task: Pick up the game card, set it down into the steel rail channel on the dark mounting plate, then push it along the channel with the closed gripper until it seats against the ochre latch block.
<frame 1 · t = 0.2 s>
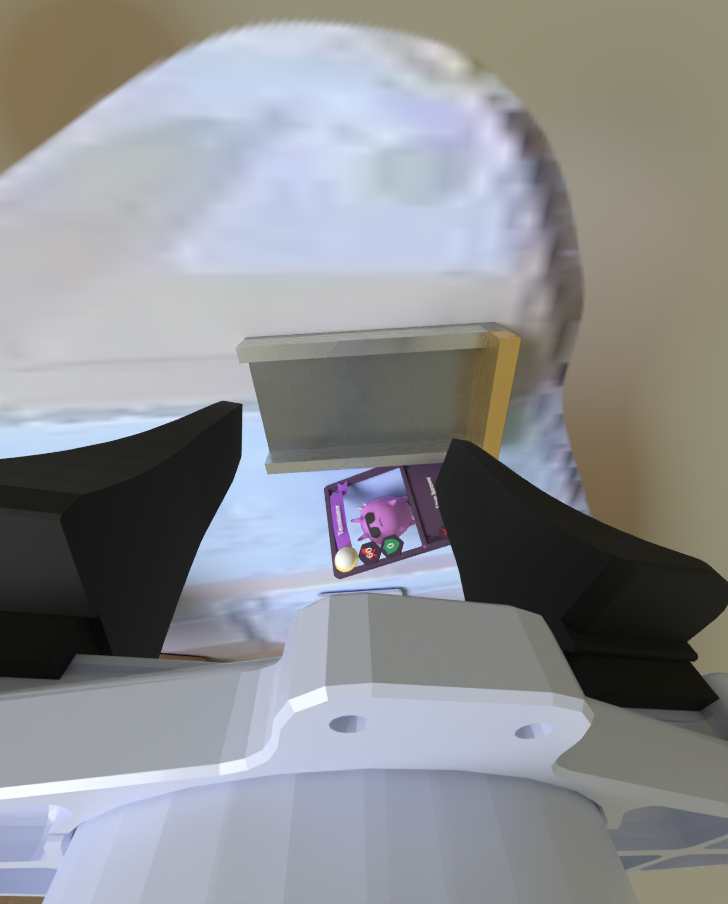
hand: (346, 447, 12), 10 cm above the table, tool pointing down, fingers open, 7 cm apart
wooden block: (162, 673, 39), on the table
rail seat: (373, 396, 21), on the table
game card: (391, 486, 26), on the table
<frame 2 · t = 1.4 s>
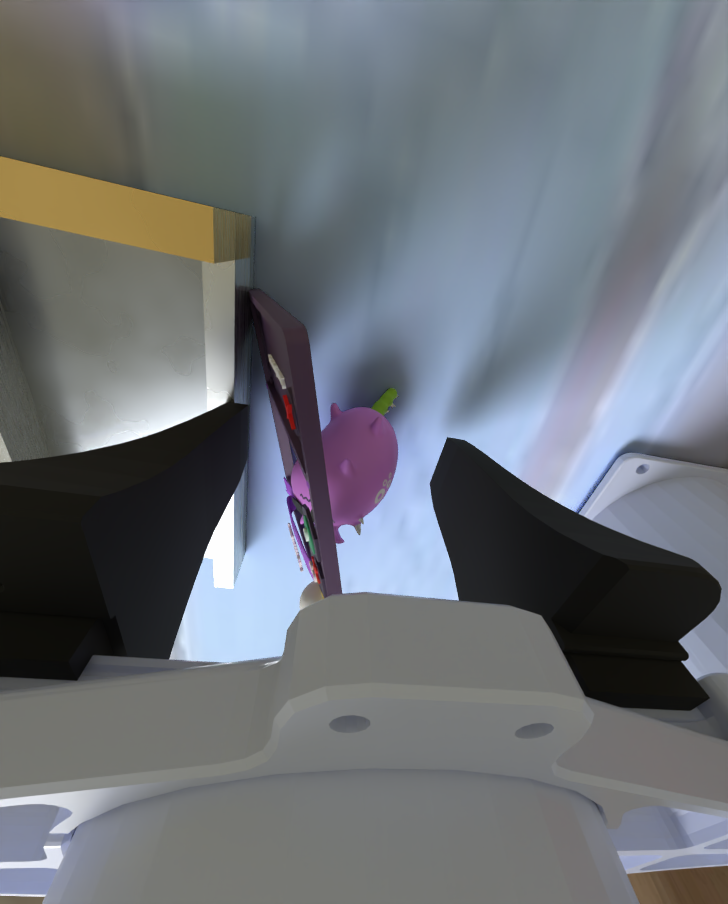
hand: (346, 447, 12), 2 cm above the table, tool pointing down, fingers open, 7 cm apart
wooden block: (568, 728, 30), on the table
rail seat: (139, 413, 13), on the table
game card: (335, 411, 13), on the table
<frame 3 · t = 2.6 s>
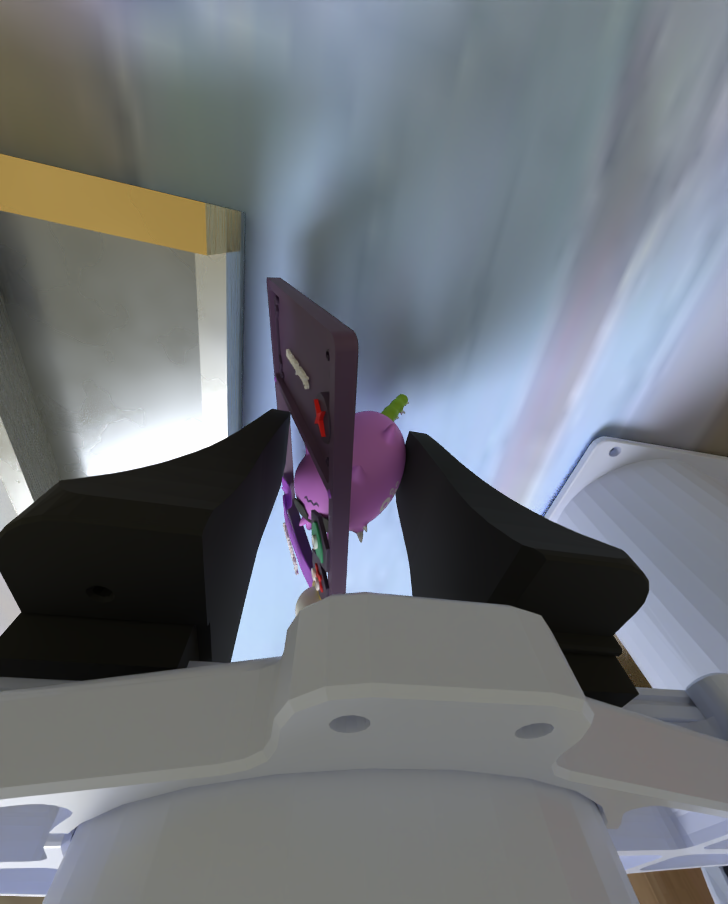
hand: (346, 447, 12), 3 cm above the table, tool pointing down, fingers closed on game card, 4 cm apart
wooden block: (555, 708, 31), on the table
rail seat: (135, 402, 13), on the table
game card: (342, 411, 13), point 1 cm above the table, touching gripper
when the fingers open (3 cm above the table, at t = 4.8 s): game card stays where it is, resting on rail seat.
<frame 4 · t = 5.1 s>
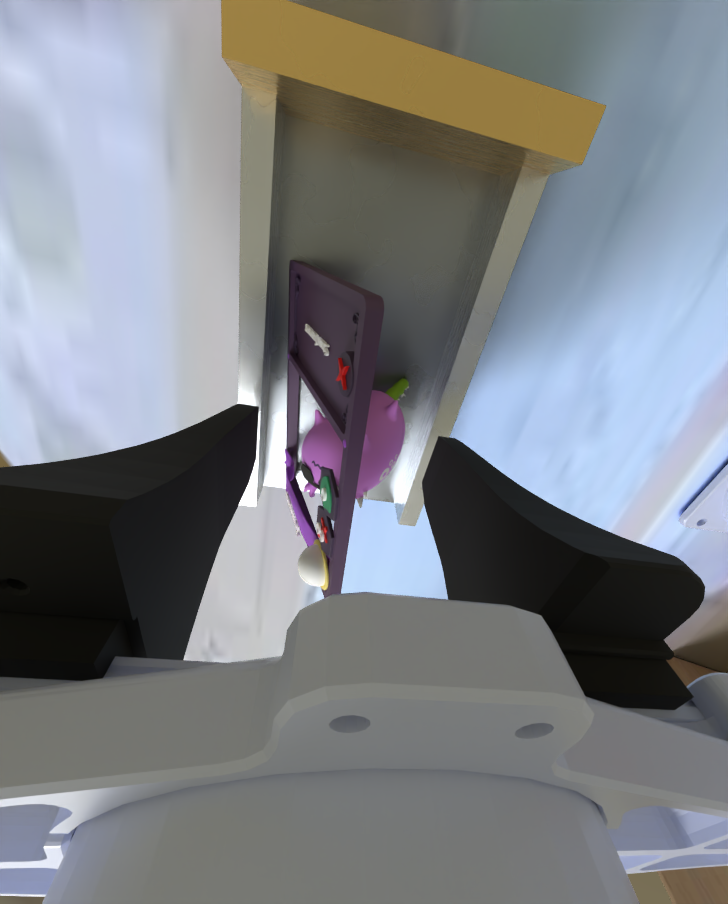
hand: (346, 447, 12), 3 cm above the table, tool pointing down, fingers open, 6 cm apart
wooden block: (652, 688, 31), on the table
rail seat: (358, 348, 13), on the table
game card: (346, 392, 14), resting on rail seat
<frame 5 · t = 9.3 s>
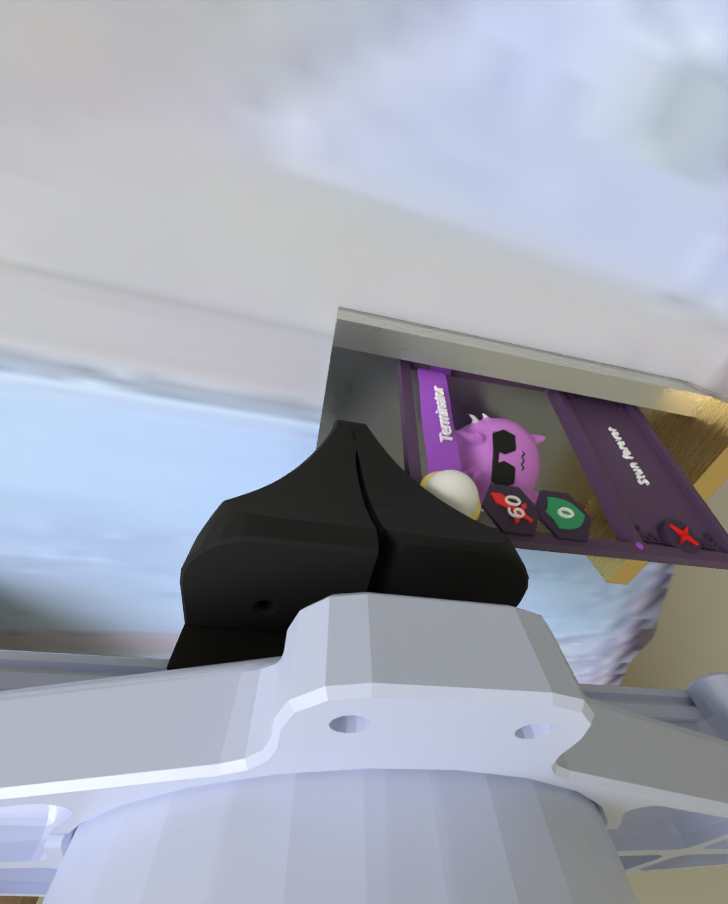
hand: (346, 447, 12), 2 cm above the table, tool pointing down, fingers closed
wooden block: (45, 726, 28), on the table
rail seat: (484, 439, 15), on the table
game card: (491, 425, 14), resting on rail seat, touching gripper
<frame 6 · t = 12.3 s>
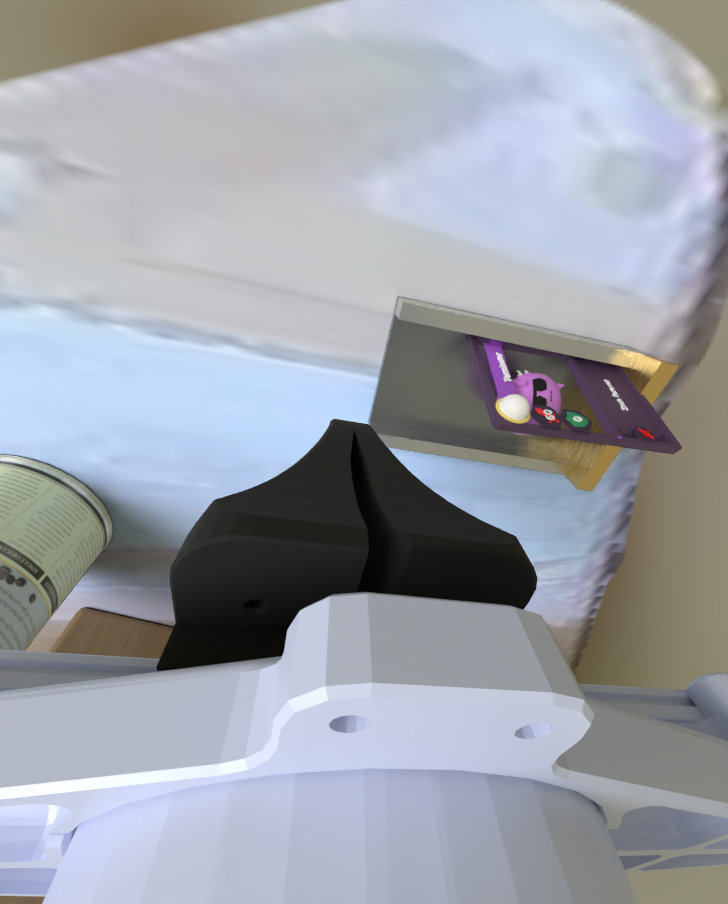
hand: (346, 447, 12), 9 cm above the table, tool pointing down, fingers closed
wooden block: (133, 643, 34), on the table
rail seat: (491, 389, 21), on the table
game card: (525, 384, 21), resting on rail seat
coffee can: (39, 511, 25), on the table
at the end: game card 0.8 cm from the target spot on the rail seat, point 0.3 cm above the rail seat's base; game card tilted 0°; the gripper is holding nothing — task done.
